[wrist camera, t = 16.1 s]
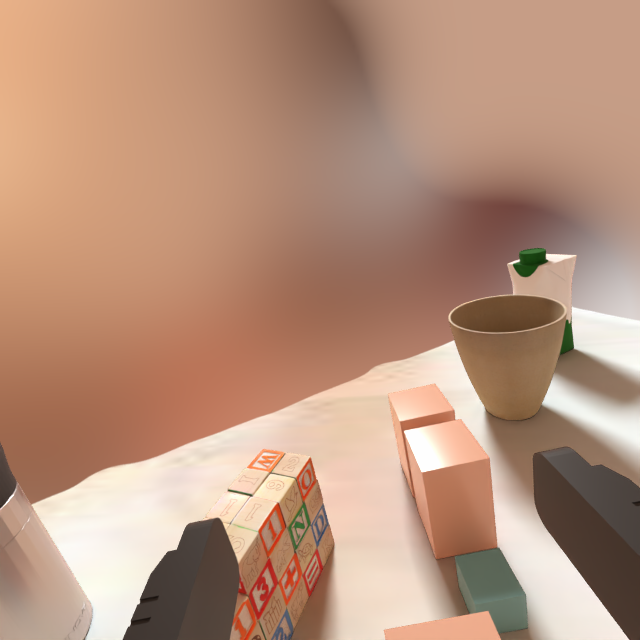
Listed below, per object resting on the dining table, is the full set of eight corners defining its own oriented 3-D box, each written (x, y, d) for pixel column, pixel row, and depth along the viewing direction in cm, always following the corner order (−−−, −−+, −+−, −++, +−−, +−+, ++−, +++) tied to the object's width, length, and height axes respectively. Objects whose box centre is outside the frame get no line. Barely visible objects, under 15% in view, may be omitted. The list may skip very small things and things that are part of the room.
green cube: (479, 637, 29) (474, 604, 28) (458, 587, 33) (454, 556, 31) (527, 628, 29) (525, 594, 27) (501, 579, 32) (499, 547, 31)
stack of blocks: (201, 845, 22) (125, 732, 18) (138, 786, 25) (63, 679, 21) (335, 542, 40) (311, 453, 36) (289, 529, 43) (262, 446, 39)
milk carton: (507, 350, 71) (501, 253, 65) (539, 336, 74) (536, 241, 68) (548, 364, 63) (546, 255, 57) (583, 348, 66) (584, 241, 60)
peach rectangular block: (413, 497, 43) (399, 421, 40) (400, 462, 49) (387, 393, 46) (463, 486, 43) (454, 409, 39) (444, 453, 49) (434, 383, 45)
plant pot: (478, 376, 65) (470, 294, 60) (576, 392, 55) (577, 294, 50) (443, 421, 55) (430, 327, 50) (555, 451, 45) (552, 336, 40)
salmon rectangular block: (436, 559, 35) (421, 471, 32) (417, 509, 41) (404, 430, 38) (497, 547, 35) (489, 458, 32) (470, 498, 41) (460, 419, 38)
